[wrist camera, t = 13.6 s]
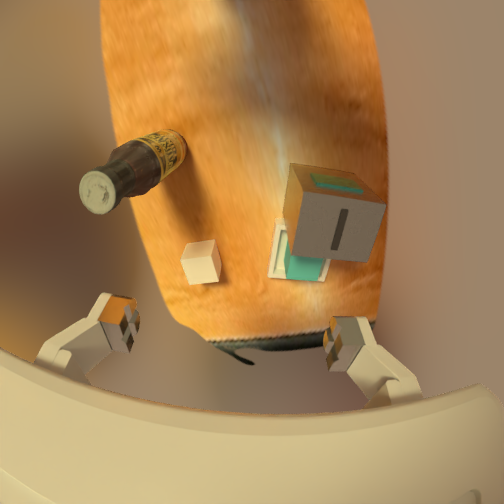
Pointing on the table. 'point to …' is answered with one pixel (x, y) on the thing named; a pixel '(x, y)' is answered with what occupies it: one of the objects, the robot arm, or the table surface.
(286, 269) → the teal block
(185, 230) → the table surface
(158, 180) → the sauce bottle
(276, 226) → the tray
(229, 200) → the table surface
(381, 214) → the dispenser
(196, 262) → the cream block
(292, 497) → the robot arm
